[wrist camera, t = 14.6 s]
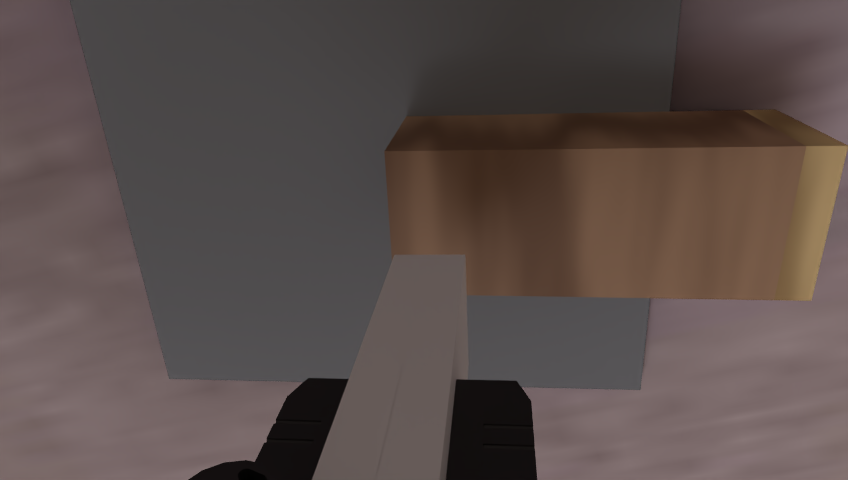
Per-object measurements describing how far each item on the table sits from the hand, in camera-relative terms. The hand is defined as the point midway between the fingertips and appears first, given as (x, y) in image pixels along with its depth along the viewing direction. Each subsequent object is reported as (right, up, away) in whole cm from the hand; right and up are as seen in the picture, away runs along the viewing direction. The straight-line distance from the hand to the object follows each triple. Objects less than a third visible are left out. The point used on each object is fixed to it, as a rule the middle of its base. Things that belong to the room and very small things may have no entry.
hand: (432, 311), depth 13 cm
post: (-1, +3, +7) cm, 7 cm away
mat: (-3, +4, +10) cm, 11 cm away
